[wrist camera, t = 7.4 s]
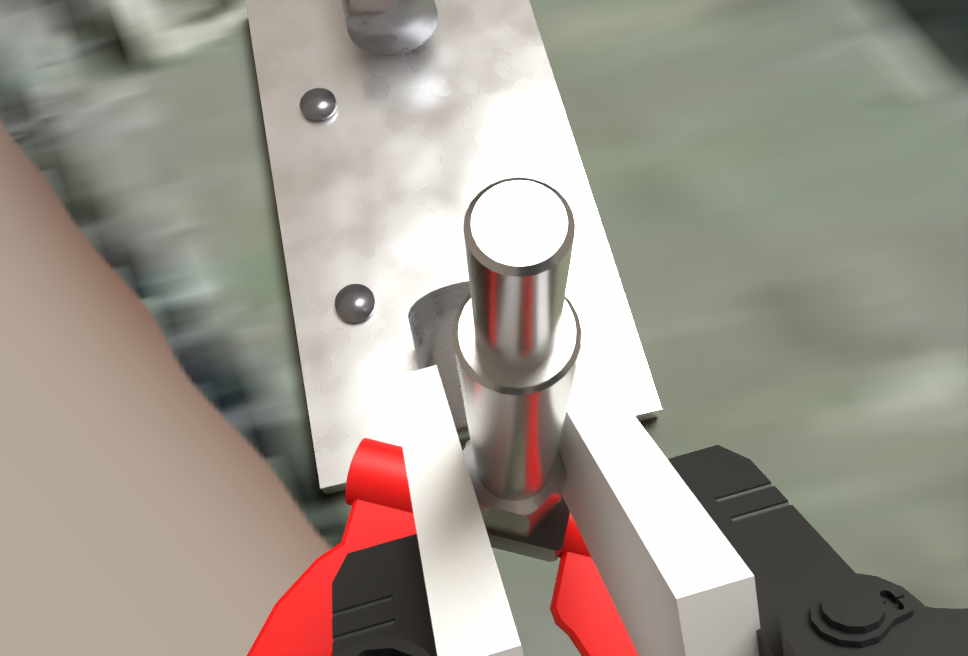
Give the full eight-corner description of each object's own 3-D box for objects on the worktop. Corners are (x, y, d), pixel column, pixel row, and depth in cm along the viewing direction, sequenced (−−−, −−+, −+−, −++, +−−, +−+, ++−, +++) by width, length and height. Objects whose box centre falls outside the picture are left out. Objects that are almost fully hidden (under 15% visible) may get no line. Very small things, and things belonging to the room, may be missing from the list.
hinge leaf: (511, -37, 43) (510, -125, 38) (657, 417, 33) (680, 372, 29) (251, 16, 42) (218, -68, 37) (325, 494, 32) (294, 461, 28)
